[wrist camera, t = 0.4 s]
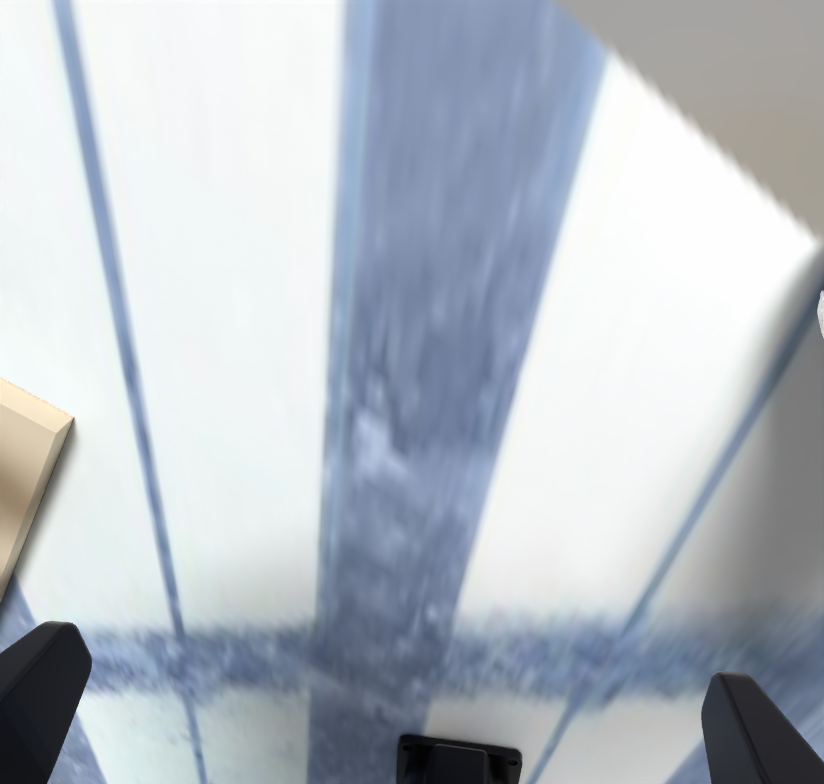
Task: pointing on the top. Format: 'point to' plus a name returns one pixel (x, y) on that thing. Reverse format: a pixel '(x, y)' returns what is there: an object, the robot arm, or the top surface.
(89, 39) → the top surface
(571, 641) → the top surface
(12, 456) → the board
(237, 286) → the top surface
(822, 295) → the water bottle
